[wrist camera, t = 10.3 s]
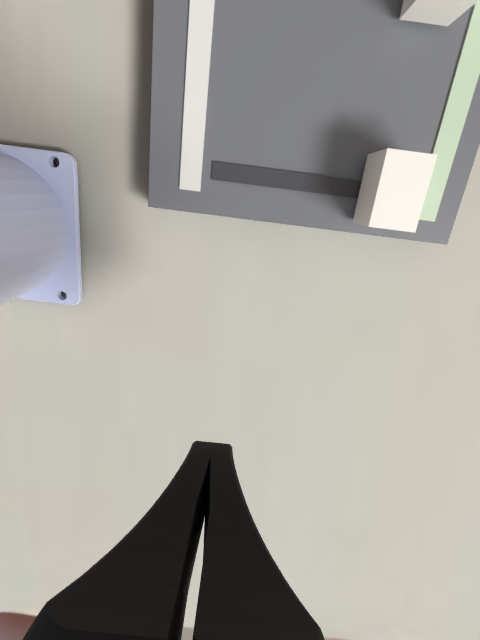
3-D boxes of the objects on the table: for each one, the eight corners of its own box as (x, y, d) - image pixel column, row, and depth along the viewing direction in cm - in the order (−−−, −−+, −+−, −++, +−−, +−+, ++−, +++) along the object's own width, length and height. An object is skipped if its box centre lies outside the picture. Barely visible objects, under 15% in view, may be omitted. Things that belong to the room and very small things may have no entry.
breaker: (352, 222, 17) (368, 226, 15) (367, 154, 16) (387, 148, 14) (393, 227, 17) (415, 232, 15) (410, 160, 16) (437, 154, 14)
